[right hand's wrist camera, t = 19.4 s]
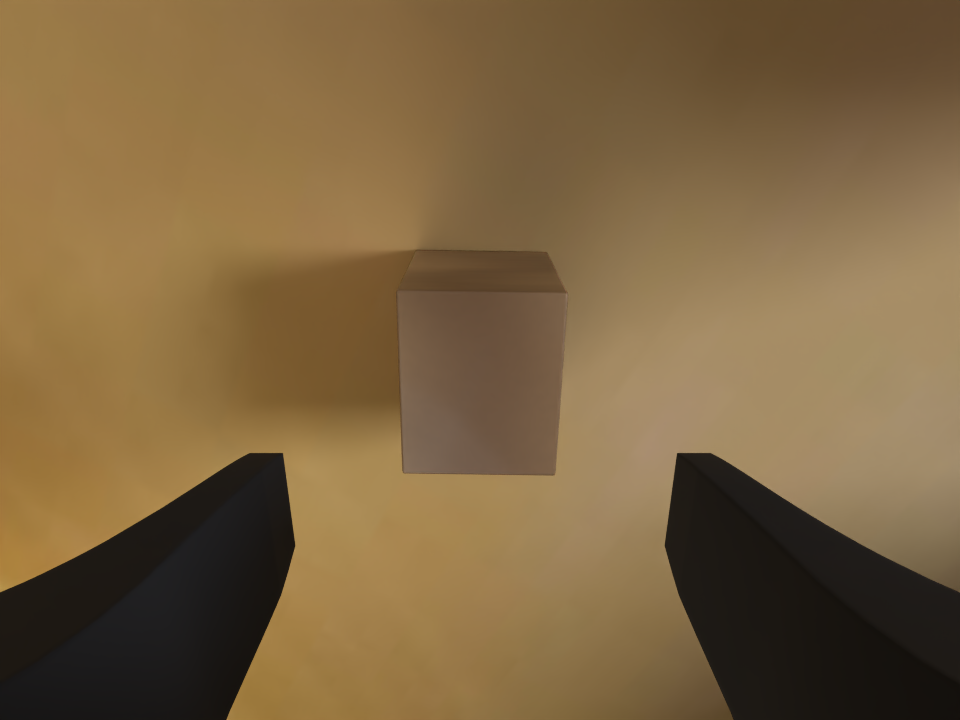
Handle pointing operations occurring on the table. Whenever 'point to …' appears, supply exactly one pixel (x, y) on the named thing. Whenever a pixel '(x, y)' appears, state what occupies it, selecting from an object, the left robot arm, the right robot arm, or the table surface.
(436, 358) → the block
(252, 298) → the table surface
